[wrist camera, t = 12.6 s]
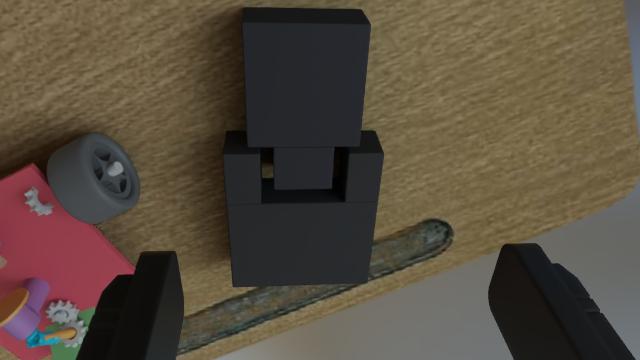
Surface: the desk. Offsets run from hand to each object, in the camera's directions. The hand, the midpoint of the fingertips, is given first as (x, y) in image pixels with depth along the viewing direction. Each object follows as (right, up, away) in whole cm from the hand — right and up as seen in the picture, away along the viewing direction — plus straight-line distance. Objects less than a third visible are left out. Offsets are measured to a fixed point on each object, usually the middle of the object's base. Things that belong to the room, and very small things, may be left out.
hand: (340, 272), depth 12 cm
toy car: (-16, -1, +17) cm, 23 cm away
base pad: (-2, +1, +17) cm, 17 cm away
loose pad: (-1, +7, +13) cm, 15 cm away
